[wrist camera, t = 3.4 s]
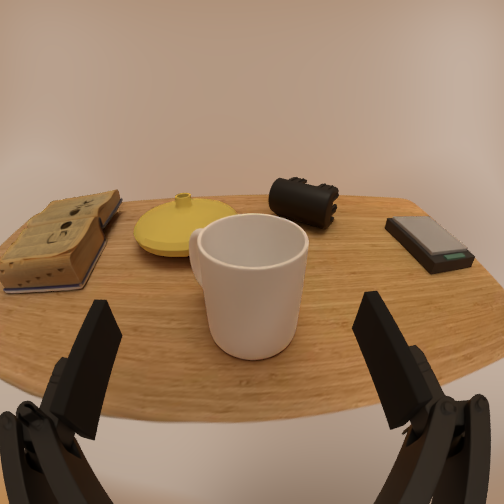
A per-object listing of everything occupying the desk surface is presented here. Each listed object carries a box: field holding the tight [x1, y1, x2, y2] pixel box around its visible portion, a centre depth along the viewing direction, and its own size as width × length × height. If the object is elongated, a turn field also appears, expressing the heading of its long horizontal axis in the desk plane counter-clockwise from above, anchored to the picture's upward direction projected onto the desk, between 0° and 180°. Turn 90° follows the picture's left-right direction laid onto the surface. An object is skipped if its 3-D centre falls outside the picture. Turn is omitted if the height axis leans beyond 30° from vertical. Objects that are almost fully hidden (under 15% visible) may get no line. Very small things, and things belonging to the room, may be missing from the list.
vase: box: [133, 193, 238, 257], centre depth 38 cm, size 16×16×7 cm
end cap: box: [269, 177, 339, 229], centre depth 44 cm, size 10×7×7 cm
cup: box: [189, 213, 309, 360], centre depth 24 cm, size 8×12×10 cm
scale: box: [385, 216, 475, 274], centre depth 38 cm, size 14×11×3 cm
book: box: [0, 190, 122, 293], centre depth 37 cm, size 25×17×6 cm
